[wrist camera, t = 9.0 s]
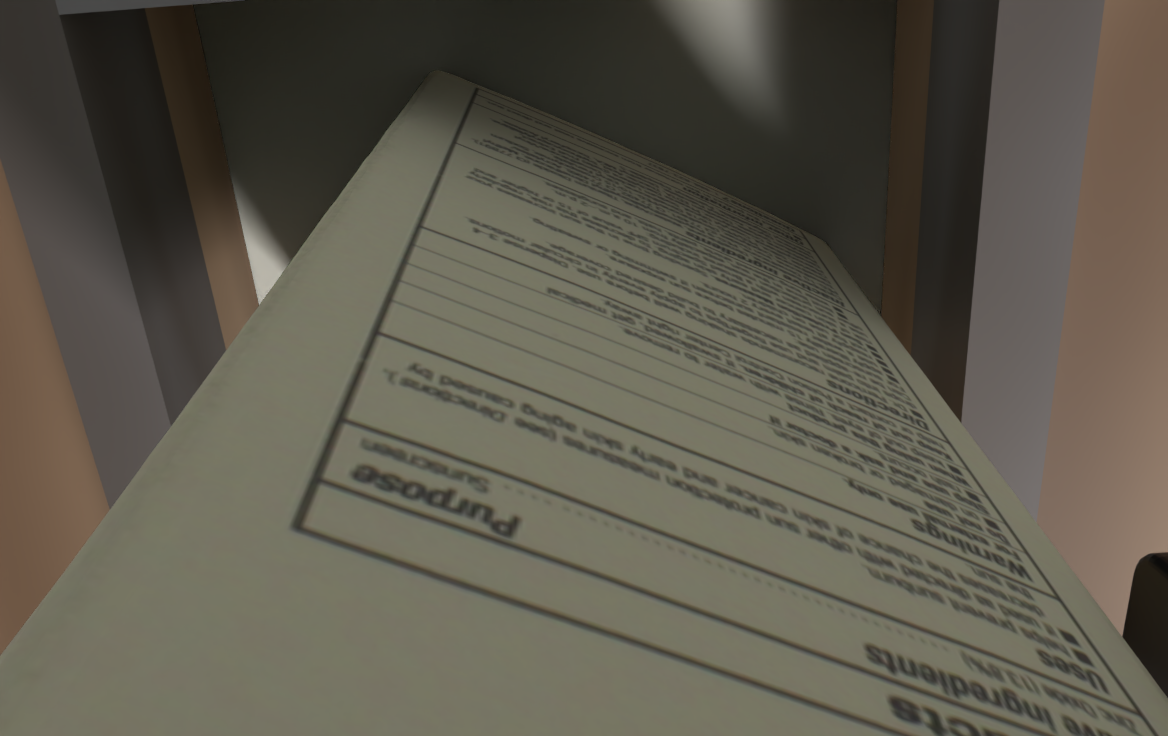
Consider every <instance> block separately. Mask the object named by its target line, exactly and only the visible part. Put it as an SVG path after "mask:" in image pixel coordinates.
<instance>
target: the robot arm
mask: <svg viewBox="0 0 1168 736" xmlns="http://www.w3.org/2000/svg"><path fill="white" fill-rule="evenodd" d="M1122 637H1123V639H1124V640H1125V641H1126V643H1127V644H1128V645H1129V647H1130V648H1131V649H1132V651H1133V652H1134V653H1135V655H1136V656H1137V657H1138V659H1139V660H1140V661H1141V663H1142V664H1143V665H1144V667H1145V668H1146V669H1147V671H1148V672H1149V673H1150V675H1151V676H1152V677H1153V679H1154V680H1155V682H1156V683H1157V684H1158V686H1159V687H1160V688H1161V690H1162V691H1163V692H1164V694H1165V695H1166V696H1167V698H1168V552H1161V553H1150V554H1147V555H1146V556H1144V557H1142V558H1141V559H1140V560H1139V562H1138V563H1137V565H1136V568H1135V571H1134V575H1133V580H1132V586H1131V591H1130V597H1129V602H1128V608H1127V613H1126V619H1125V624H1124V630H1123V635H1122Z"/></svg>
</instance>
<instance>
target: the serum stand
mask: <svg viewBox="0 0 1168 736" xmlns="http://www.w3.org/2000/svg"><path fill="white" fill-rule="evenodd" d="M230 1H243V0H0V655H1V654H2V653H3V651H4V650H5V649H6V647H7V646H8V645H9V644H10V642H11V641H12V640H13V638H14V637H15V636H16V634H17V633H18V632H19V630H20V629H21V628H22V627H23V625H24V624H25V623H26V621H27V620H28V619H29V617H30V616H31V615H32V613H33V612H34V611H35V609H36V608H37V607H38V606H39V604H40V603H41V602H42V600H43V599H44V598H45V596H46V595H47V594H48V592H49V591H50V590H51V588H52V587H53V586H54V585H55V583H56V582H57V581H58V579H59V578H60V577H61V575H62V574H63V573H64V571H65V570H66V569H67V567H68V566H69V565H70V563H71V562H72V561H73V559H74V558H75V556H76V555H77V554H78V552H79V551H80V550H81V548H82V547H83V546H84V544H85V543H86V542H87V540H88V539H89V537H90V536H91V535H92V533H93V532H94V531H95V529H96V528H97V527H98V525H99V524H100V523H101V521H102V520H103V518H104V517H105V516H106V514H107V513H108V512H109V510H110V509H111V508H112V506H113V505H114V504H115V502H116V501H117V499H118V498H119V497H120V495H121V494H122V493H123V491H124V490H125V489H126V487H127V486H128V484H129V483H130V482H131V480H132V479H133V478H134V476H135V475H136V474H137V472H138V471H139V469H140V468H141V467H142V465H143V464H144V462H145V461H146V459H147V458H148V457H149V455H150V454H151V452H152V451H153V450H154V448H155V447H156V446H157V445H158V443H159V442H160V441H161V439H162V438H163V437H164V435H165V434H166V433H167V431H168V430H169V429H170V427H171V426H172V425H173V423H174V422H175V420H176V419H177V418H178V416H179V415H180V413H181V412H182V411H183V409H184V408H185V406H186V405H187V404H188V402H189V401H190V399H191V398H192V397H193V395H194V394H195V393H196V391H197V390H198V389H199V387H200V386H201V385H202V383H203V382H204V380H205V379H206V378H207V376H208V375H209V374H210V372H211V371H212V369H213V368H214V367H215V365H216V364H217V362H218V361H219V360H220V358H221V357H222V356H223V354H224V353H225V351H226V350H227V349H228V347H229V346H230V345H231V343H232V342H233V340H234V339H235V338H236V336H237V335H238V333H239V332H240V331H241V329H242V328H243V327H244V325H245V324H246V323H247V321H248V320H249V318H250V317H251V316H252V314H253V313H254V312H255V310H256V309H257V308H258V306H259V304H258V299H257V294H256V290H255V285H254V281H253V276H252V272H251V267H250V263H249V258H248V253H247V249H246V244H245V240H244V235H243V231H242V226H241V222H240V217H239V212H238V208H237V203H236V199H235V194H234V190H233V185H232V181H231V176H230V171H229V167H228V162H227V158H226V153H225V149H224V144H223V140H222V135H221V130H220V126H219V121H218V117H217V112H216V108H215V103H214V98H213V94H212V89H211V85H210V80H209V76H208V71H207V67H206V62H205V57H204V53H203V48H202V44H201V39H200V35H199V30H198V26H197V21H196V16H195V12H194V7H193V4H204V3H217V2H230ZM881 317H882V318H883V320H884V321H885V322H886V324H887V325H888V326H889V328H890V329H891V330H892V332H893V333H894V335H895V336H896V337H897V339H898V340H899V341H900V342H901V344H902V345H903V346H904V348H905V349H906V350H907V352H908V353H909V354H910V356H911V357H912V358H913V360H914V361H915V362H916V363H917V365H918V366H919V367H920V369H921V370H922V371H923V373H924V374H925V375H926V377H927V378H928V379H929V381H930V382H931V383H932V385H933V386H934V387H935V389H936V390H937V391H938V393H939V394H940V395H941V397H942V398H943V399H944V401H945V402H946V404H947V405H948V406H949V408H950V409H951V410H952V412H953V413H954V414H955V416H956V417H957V418H958V420H959V421H960V422H961V424H962V425H963V426H964V428H965V429H966V430H967V432H968V433H969V434H970V436H971V437H972V438H973V440H974V441H975V442H976V443H977V445H978V446H979V447H980V449H981V450H982V451H983V453H984V454H985V455H986V457H987V458H988V459H989V461H990V462H991V463H992V465H993V466H994V467H995V469H996V470H997V471H998V473H999V474H1000V475H1001V476H1002V478H1003V479H1004V480H1005V482H1006V483H1007V484H1008V486H1009V487H1010V488H1011V490H1012V491H1013V492H1014V494H1015V495H1016V496H1017V498H1018V499H1019V500H1020V502H1021V503H1022V504H1023V505H1024V507H1025V508H1026V509H1027V511H1028V512H1029V513H1030V515H1031V516H1032V517H1033V519H1034V520H1035V521H1036V523H1037V524H1038V525H1039V527H1040V528H1041V529H1042V531H1043V532H1044V533H1045V535H1046V536H1047V537H1048V539H1049V540H1050V541H1051V543H1052V544H1053V545H1054V547H1055V548H1056V549H1057V551H1058V552H1059V553H1060V555H1061V556H1062V557H1063V559H1064V560H1065V561H1066V563H1067V564H1068V565H1069V567H1070V568H1071V569H1072V571H1073V572H1074V573H1075V575H1076V576H1077V577H1078V578H1079V580H1080V581H1081V582H1082V584H1083V585H1084V586H1085V588H1086V589H1087V590H1088V592H1089V593H1090V594H1091V596H1092V597H1093V598H1094V600H1095V601H1096V602H1097V604H1098V605H1099V606H1100V608H1101V609H1102V610H1103V612H1104V613H1105V614H1106V616H1107V617H1108V618H1109V620H1110V621H1111V622H1112V624H1113V625H1114V626H1115V628H1116V629H1117V630H1118V632H1119V633H1120V634H1121V636H1122V635H1123V630H1124V624H1125V619H1126V613H1127V608H1128V602H1129V597H1130V591H1131V586H1132V580H1133V575H1134V571H1135V568H1136V565H1137V563H1138V562H1139V560H1140V559H1141V558H1142V557H1144V556H1146V555H1147V554H1150V553H1161V552H1168V0H897V18H896V37H895V57H894V76H893V96H892V115H891V135H890V154H889V174H888V193H887V213H886V232H885V252H884V272H883V291H882V311H881Z"/></svg>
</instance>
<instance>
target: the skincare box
mask: <svg viewBox="0 0 1168 736" xmlns="http://www.w3.org/2000/svg"><path fill="white" fill-rule="evenodd" d="M0 736H1168V698H1167V696H1166V695H1165V694H1164V692H1163V691H1162V690H1161V688H1160V687H1159V686H1158V684H1157V683H1156V682H1155V680H1154V679H1153V677H1152V676H1151V675H1150V673H1149V672H1148V671H1147V669H1146V668H1145V667H1144V665H1143V664H1142V663H1141V661H1140V660H1139V659H1138V657H1137V656H1136V655H1135V653H1134V652H1133V651H1132V649H1131V648H1130V647H1129V645H1128V644H1127V643H1126V641H1125V640H1124V639H1123V637H1122V636H1121V634H1120V633H1119V632H1118V630H1117V629H1116V628H1115V626H1114V625H1113V624H1112V622H1111V621H1110V620H1109V618H1108V617H1107V616H1106V614H1105V613H1104V612H1103V610H1102V609H1101V608H1100V606H1099V605H1098V604H1097V602H1096V601H1095V600H1094V598H1093V597H1092V596H1091V594H1090V593H1089V592H1088V590H1087V589H1086V588H1085V586H1084V585H1083V584H1082V582H1081V581H1080V580H1079V578H1078V577H1077V576H1076V575H1075V573H1074V572H1073V571H1072V569H1071V568H1070V567H1069V565H1068V564H1067V563H1066V561H1065V560H1064V559H1063V557H1062V556H1061V555H1060V553H1059V552H1058V551H1057V549H1056V548H1055V547H1054V545H1053V544H1052V543H1051V541H1050V540H1049V539H1048V537H1047V536H1046V535H1045V533H1044V532H1043V531H1042V529H1041V528H1040V527H1039V525H1038V524H1037V523H1036V521H1035V520H1034V519H1033V517H1032V516H1031V515H1030V513H1029V512H1028V511H1027V509H1026V508H1025V507H1024V505H1023V504H1022V503H1021V502H1020V500H1019V499H1018V498H1017V496H1016V495H1015V494H1014V492H1013V491H1012V490H1011V488H1010V487H1009V486H1008V484H1007V483H1006V482H1005V480H1004V479H1003V478H1002V476H1001V475H1000V474H999V473H998V471H997V470H996V469H995V467H994V466H993V465H992V463H991V462H990V461H989V459H988V458H987V457H986V455H985V454H984V453H983V451H982V450H981V449H980V447H979V446H978V445H977V443H976V442H975V441H974V440H973V438H972V437H971V436H970V434H969V433H968V432H967V430H966V429H965V428H964V426H963V425H962V424H961V422H960V421H959V420H958V418H957V417H956V416H955V414H954V413H953V412H952V410H951V409H950V408H949V406H948V405H947V404H946V402H945V401H944V399H943V398H942V397H941V395H940V394H939V393H938V391H937V390H936V389H935V387H934V386H933V385H932V383H931V382H930V381H929V379H928V378H927V377H926V375H925V374H924V373H923V371H922V370H921V369H920V367H919V366H918V365H917V363H916V362H915V361H914V360H913V358H912V357H911V356H910V354H909V353H908V352H907V350H906V349H905V348H904V346H903V345H902V344H901V342H900V341H899V340H898V339H897V337H896V336H895V335H894V333H893V332H892V330H891V329H890V328H889V326H888V325H887V324H886V322H885V321H884V320H883V318H882V317H881V315H880V314H879V313H878V311H877V310H876V309H875V307H874V306H873V305H872V303H871V302H870V301H869V299H868V298H867V297H866V295H865V294H864V293H863V291H862V290H861V289H860V287H859V286H858V285H857V283H856V282H855V281H854V279H853V278H852V277H851V275H850V274H849V273H848V271H847V270H846V269H845V267H844V266H843V265H842V263H841V262H840V261H839V259H838V258H837V257H836V255H835V254H834V253H833V251H832V250H831V249H830V247H829V246H828V245H827V244H826V243H825V242H824V241H823V240H821V239H819V238H817V237H816V236H814V235H812V234H810V233H808V232H806V231H804V230H802V229H800V228H798V227H796V226H794V225H792V224H790V223H788V222H786V221H784V220H782V219H780V218H778V217H776V216H774V215H772V214H770V213H768V212H766V211H764V210H762V209H760V208H757V207H755V206H753V205H751V204H749V203H746V202H744V201H742V200H740V199H738V198H736V197H734V196H732V195H730V194H727V193H725V192H723V191H721V190H719V189H717V188H715V187H713V186H711V185H709V184H706V183H704V182H702V181H700V180H698V179H696V178H693V177H691V176H689V175H687V174H685V173H683V172H680V171H678V170H676V169H674V168H672V167H669V166H667V165H665V164H662V163H660V162H658V161H656V160H653V159H651V158H649V157H646V156H644V155H642V154H640V153H637V152H635V151H633V150H631V149H628V148H626V147H624V146H622V145H619V144H617V143H615V142H613V141H610V140H608V139H606V138H604V137H601V136H599V135H597V134H594V133H592V132H590V131H587V130H585V129H583V128H580V127H578V126H576V125H574V124H571V123H569V122H566V121H564V120H562V119H559V118H557V117H555V116H552V115H550V114H548V113H545V112H543V111H541V110H538V109H536V108H533V107H531V106H528V105H526V104H524V103H521V102H519V101H516V100H514V99H512V98H509V97H507V96H504V95H502V94H499V93H496V92H494V91H491V90H489V89H486V88H484V87H481V86H479V85H476V84H474V83H471V82H469V81H467V80H464V79H462V78H459V77H457V76H455V75H452V74H450V73H446V72H443V71H438V70H435V71H432V72H431V73H429V74H428V75H427V77H426V78H425V80H424V81H423V82H422V84H421V85H420V87H419V88H418V89H417V90H416V92H415V93H414V94H413V96H412V97H411V99H410V100H409V102H408V103H407V104H406V106H405V107H404V109H403V110H402V111H401V112H400V114H399V115H398V116H397V118H396V119H395V120H394V122H393V123H392V124H391V125H390V127H389V128H388V129H387V131H386V132H385V133H384V135H383V136H382V138H381V139H380V141H379V142H378V144H377V145H376V146H375V148H374V149H373V151H372V152H371V153H370V154H369V156H368V157H367V158H366V159H365V160H364V162H363V163H362V164H361V166H360V167H359V169H358V170H357V172H356V173H355V175H354V176H353V177H352V178H351V180H350V181H349V183H348V184H347V185H346V187H345V188H344V189H343V191H342V192H341V194H340V195H339V197H338V198H337V199H336V201H335V202H334V203H333V204H332V206H331V207H330V208H329V209H328V211H327V212H326V213H325V215H324V216H323V218H322V219H321V220H320V222H319V223H318V224H317V226H316V227H315V229H314V230H313V231H312V233H311V234H310V235H309V237H308V238H307V240H306V241H305V242H304V244H303V245H302V247H301V248H300V249H299V251H298V252H297V254H296V255H295V256H294V258H293V259H292V261H291V262H290V263H289V265H288V266H287V268H286V269H285V270H284V272H283V273H282V275H281V276H280V277H279V279H278V280H277V282H276V283H275V284H274V286H273V287H272V289H271V290H270V291H269V293H268V294H267V295H266V297H265V298H264V299H263V301H262V302H261V304H260V305H259V306H258V308H257V309H256V310H255V312H254V313H253V314H252V316H251V317H250V318H249V320H248V321H247V323H246V324H245V325H244V327H243V328H242V329H241V331H240V332H239V333H238V335H237V336H236V338H235V339H234V340H233V342H232V343H231V345H230V346H229V347H228V349H227V350H226V351H225V353H224V354H223V356H222V357H221V358H220V360H219V361H218V362H217V364H216V365H215V367H214V368H213V369H212V371H211V372H210V374H209V375H208V376H207V378H206V379H205V380H204V382H203V383H202V385H201V386H200V387H199V389H198V390H197V391H196V393H195V394H194V395H193V397H192V398H191V399H190V401H189V402H188V404H187V405H186V406H185V408H184V409H183V411H182V412H181V413H180V415H179V416H178V418H177V419H176V420H175V422H174V423H173V425H172V426H171V427H170V429H169V430H168V431H167V433H166V434H165V435H164V437H163V438H162V439H161V441H160V442H159V443H158V445H157V446H156V447H155V448H154V450H153V451H152V452H151V454H150V455H149V457H148V458H147V459H146V461H145V462H144V464H143V465H142V467H141V468H140V469H139V471H138V472H137V474H136V475H135V476H134V478H133V479H132V480H131V482H130V483H129V484H128V486H127V487H126V489H125V490H124V491H123V493H122V494H121V495H120V497H119V498H118V499H117V501H116V502H115V504H114V505H113V506H112V508H111V509H110V510H109V512H108V513H107V514H106V516H105V517H104V518H103V520H102V521H101V523H100V524H99V525H98V527H97V528H96V529H95V531H94V532H93V533H92V535H91V536H90V537H89V539H88V540H87V542H86V543H85V544H84V546H83V547H82V548H81V550H80V551H79V552H78V554H77V555H76V556H75V558H74V559H73V561H72V562H71V563H70V565H69V566H68V567H67V569H66V570H65V571H64V573H63V574H62V575H61V577H60V578H59V579H58V581H57V582H56V583H55V585H54V586H53V587H52V588H51V590H50V591H49V592H48V594H47V595H46V596H45V598H44V599H43V600H42V602H41V603H40V604H39V606H38V607H37V608H36V609H35V611H34V612H33V613H32V615H31V616H30V617H29V619H28V620H27V621H26V623H25V624H24V625H23V627H22V628H21V629H20V630H19V632H18V633H17V634H16V636H15V637H14V638H13V640H12V641H11V642H10V644H9V645H8V646H7V647H6V649H5V650H4V651H3V653H2V654H1V655H0Z"/></svg>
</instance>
